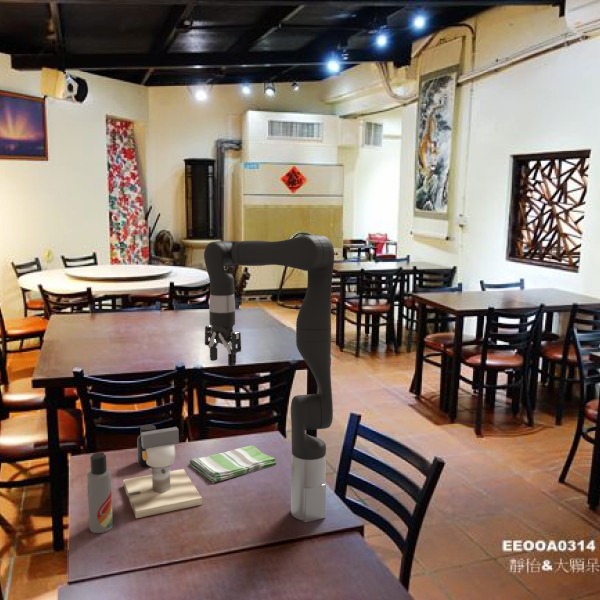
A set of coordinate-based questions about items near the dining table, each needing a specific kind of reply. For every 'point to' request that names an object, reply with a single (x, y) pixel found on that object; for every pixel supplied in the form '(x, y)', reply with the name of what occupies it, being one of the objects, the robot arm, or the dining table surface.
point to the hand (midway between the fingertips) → (222, 362)
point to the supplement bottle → (139, 444)
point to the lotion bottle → (99, 494)
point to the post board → (161, 492)
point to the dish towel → (232, 463)
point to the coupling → (160, 446)
